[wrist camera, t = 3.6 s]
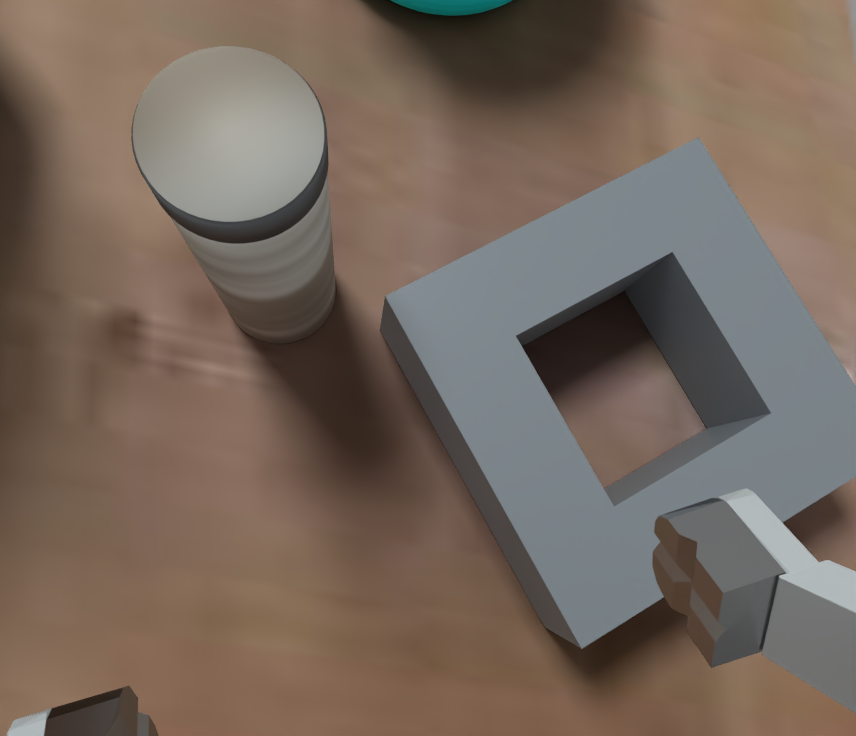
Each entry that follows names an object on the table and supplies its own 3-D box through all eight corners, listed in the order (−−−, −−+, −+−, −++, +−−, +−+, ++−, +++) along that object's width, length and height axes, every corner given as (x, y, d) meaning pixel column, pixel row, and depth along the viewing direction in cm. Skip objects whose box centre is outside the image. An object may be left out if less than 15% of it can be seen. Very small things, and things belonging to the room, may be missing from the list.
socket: (813, 460, 29) (896, 450, 24) (544, 626, 27) (581, 649, 22) (648, 191, 30) (698, 137, 26) (380, 329, 28) (385, 295, 24)
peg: (356, 313, 28) (360, 171, 16) (255, 364, 28) (183, 255, 16) (304, 218, 29) (272, 16, 17) (203, 267, 28) (97, 90, 16)
